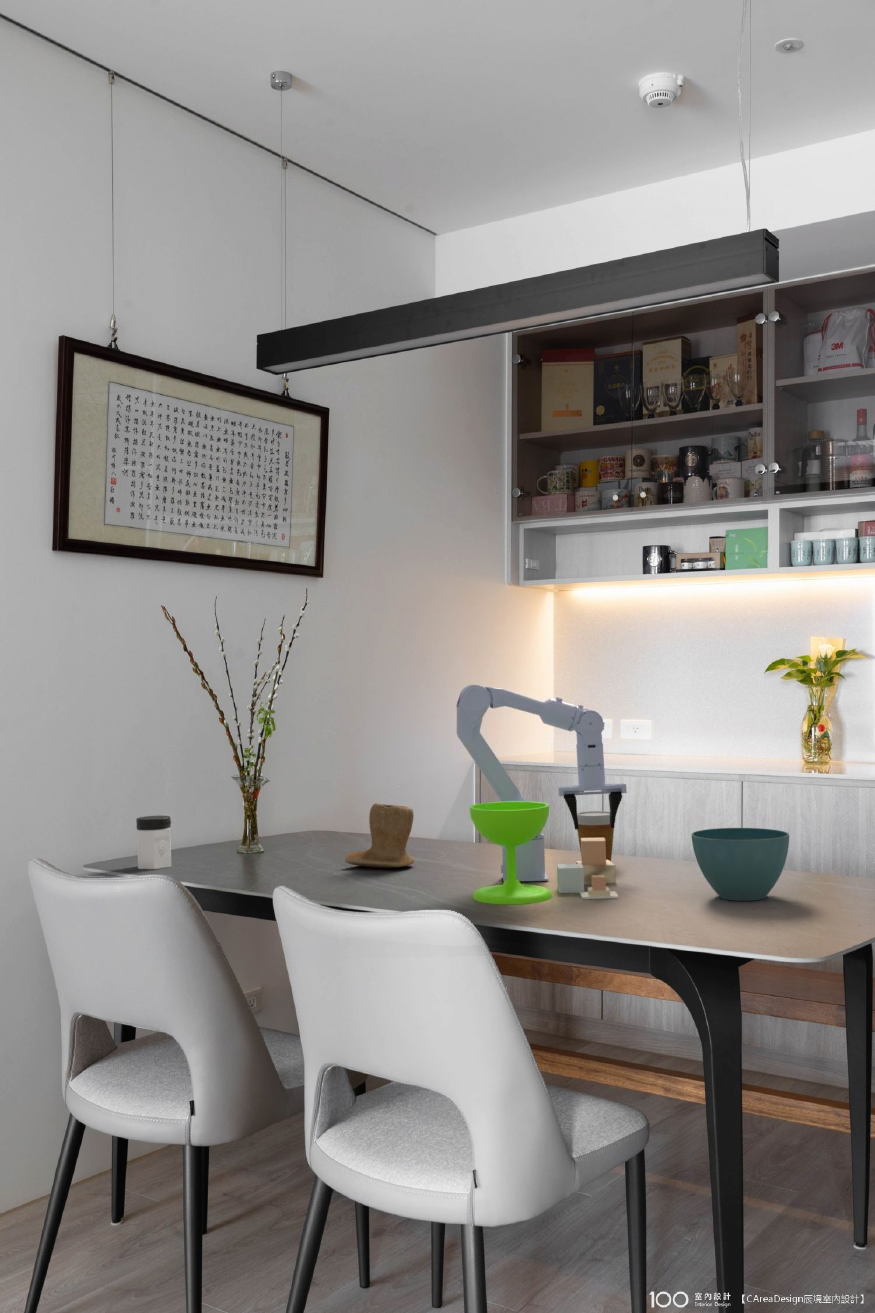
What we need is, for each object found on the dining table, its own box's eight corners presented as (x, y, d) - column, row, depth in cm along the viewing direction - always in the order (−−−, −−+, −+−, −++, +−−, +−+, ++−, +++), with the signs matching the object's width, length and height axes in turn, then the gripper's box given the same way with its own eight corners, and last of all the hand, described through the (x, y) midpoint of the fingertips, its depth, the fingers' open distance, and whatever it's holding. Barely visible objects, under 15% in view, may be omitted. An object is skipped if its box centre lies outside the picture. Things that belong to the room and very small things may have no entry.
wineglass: (503, 886, 239) (500, 800, 239) (568, 893, 229) (565, 803, 229) (455, 899, 226) (452, 808, 227) (521, 907, 216) (518, 812, 216)
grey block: (559, 893, 230) (558, 868, 230) (557, 888, 235) (556, 864, 235) (584, 892, 229) (583, 867, 229) (582, 888, 234) (581, 863, 234)
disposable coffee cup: (605, 871, 253) (603, 816, 253) (567, 868, 259) (566, 814, 259) (625, 864, 260) (623, 812, 261) (588, 861, 266) (587, 810, 266)
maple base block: (582, 885, 238) (582, 866, 238) (576, 879, 245) (575, 861, 245) (616, 884, 239) (615, 865, 239) (608, 878, 246) (608, 859, 246)
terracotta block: (582, 865, 240) (581, 841, 240) (581, 861, 245) (580, 838, 245) (606, 865, 239) (605, 841, 239) (605, 861, 244) (604, 837, 244)
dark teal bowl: (675, 893, 225) (673, 831, 225) (752, 885, 231) (750, 824, 232) (730, 910, 208) (727, 842, 208) (812, 900, 214) (809, 835, 215)
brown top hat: (425, 864, 270) (423, 800, 270) (399, 872, 260) (397, 806, 260) (371, 861, 277) (369, 799, 278) (343, 869, 267) (341, 804, 267)
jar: (146, 871, 273) (145, 820, 273) (129, 867, 279) (128, 818, 279) (179, 865, 279) (178, 816, 279) (162, 862, 285) (161, 814, 285)
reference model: (582, 899, 222) (581, 879, 222) (580, 894, 227) (579, 874, 227) (618, 898, 222) (617, 878, 222) (615, 893, 227) (614, 873, 227)
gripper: (558, 768, 243) (562, 832, 243) (626, 764, 243) (630, 828, 243) (556, 765, 250) (559, 827, 250) (622, 762, 250) (626, 824, 250)
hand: (594, 828), depth 247 cm, fingers open, 7 cm apart
